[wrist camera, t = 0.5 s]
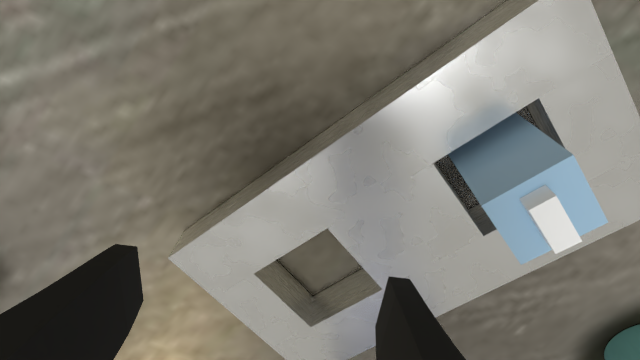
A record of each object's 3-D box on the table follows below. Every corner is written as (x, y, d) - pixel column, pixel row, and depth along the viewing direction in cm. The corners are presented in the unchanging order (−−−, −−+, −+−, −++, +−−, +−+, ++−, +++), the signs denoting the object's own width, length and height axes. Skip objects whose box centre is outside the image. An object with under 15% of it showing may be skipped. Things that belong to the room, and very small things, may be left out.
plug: (535, 157, 20) (622, 234, 14) (473, 192, 21) (529, 278, 15) (505, 105, 19) (586, 164, 13) (441, 145, 20) (488, 217, 14)
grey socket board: (638, 178, 20) (675, 202, 18) (309, 345, 27) (307, 378, 25) (545, -27, 16) (578, -28, 14) (184, 231, 23) (167, 258, 21)
